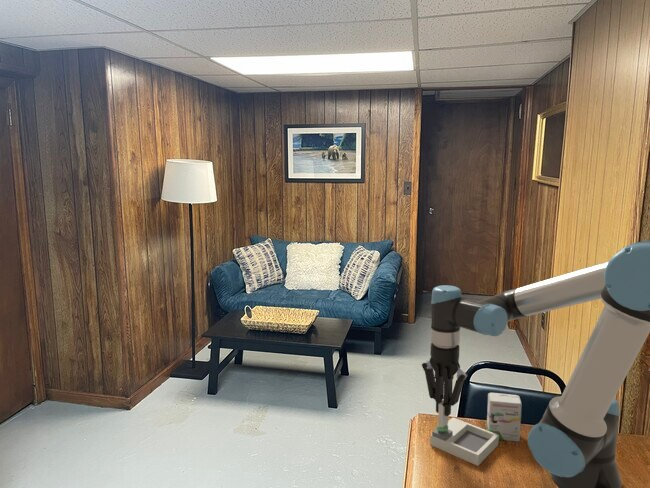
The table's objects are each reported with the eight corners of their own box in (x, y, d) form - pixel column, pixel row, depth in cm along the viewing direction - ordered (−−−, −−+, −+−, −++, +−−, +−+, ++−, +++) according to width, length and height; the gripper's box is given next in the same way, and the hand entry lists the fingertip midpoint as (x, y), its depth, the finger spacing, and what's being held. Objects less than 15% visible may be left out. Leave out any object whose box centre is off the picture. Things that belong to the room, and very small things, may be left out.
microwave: (498, 444, 132) (499, 431, 131) (477, 465, 123) (478, 451, 123) (452, 426, 142) (452, 413, 141) (430, 444, 133) (430, 431, 132)
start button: (449, 433, 132) (450, 425, 132) (444, 438, 130) (444, 429, 129) (440, 429, 134) (440, 421, 134) (434, 434, 132) (434, 425, 131)
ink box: (488, 438, 135) (489, 400, 133) (486, 429, 140) (487, 392, 138) (520, 442, 133) (522, 403, 131) (517, 432, 138) (519, 394, 136)
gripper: (474, 345, 126) (471, 427, 130) (430, 334, 135) (429, 411, 138) (460, 353, 120) (458, 439, 124) (416, 341, 129) (415, 421, 133)
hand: (442, 424), depth 131 cm, fingers closed
